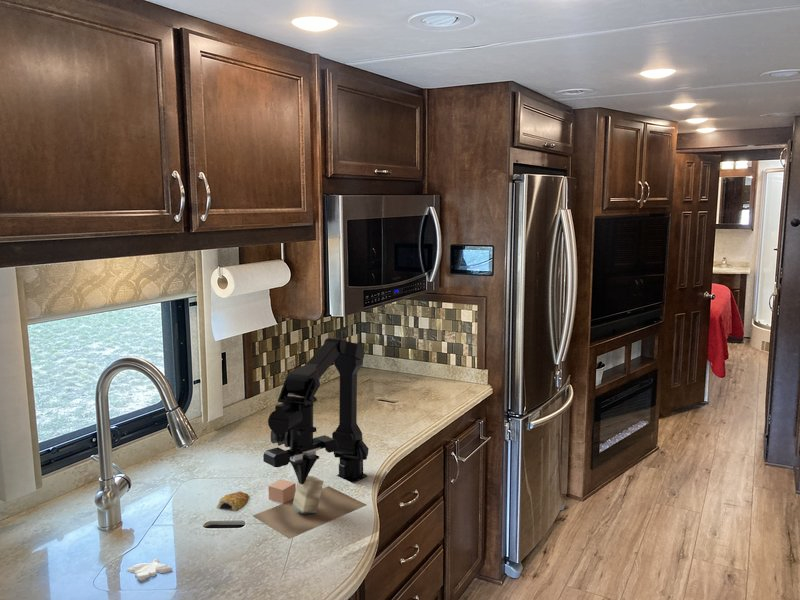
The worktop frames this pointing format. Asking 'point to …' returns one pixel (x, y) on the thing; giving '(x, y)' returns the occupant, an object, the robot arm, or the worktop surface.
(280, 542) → the worktop surface
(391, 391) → the worktop surface
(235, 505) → the pastry
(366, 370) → the worktop surface
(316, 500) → the maple block
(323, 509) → the walnut board
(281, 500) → the terracotta cube
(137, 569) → the acanthus leaf ornament
